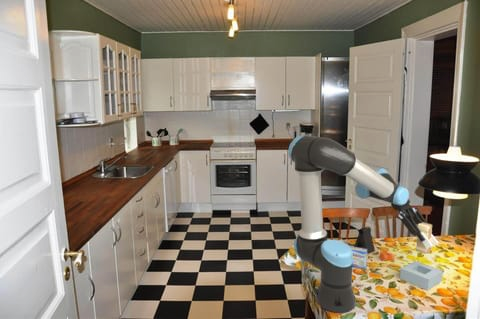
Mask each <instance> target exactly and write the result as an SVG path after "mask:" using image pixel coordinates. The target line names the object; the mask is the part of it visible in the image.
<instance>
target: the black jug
mask: <svg viewBox="0 0 480 319" xmlns="http://www.w3.org/2000/svg"><path fill="white" fill-rule="evenodd" d="M371 232H372V228H371V227H370V226H365V227H361V228H359V229H358V234H357V238H356V240H355V242H354V245H353V247H358V248H364V249H368V251H367V255H369V254H371V253H373V252H375V251H376V249H375V244H374V241H373V236H372V233H371Z"/></svg>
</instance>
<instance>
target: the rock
mask: <svg viewBox="0 0 480 319" xmlns="http://www.w3.org/2000/svg"><path fill="white" fill-rule="evenodd" d="M379 258H380V259H381V261H383V262H389V261H393V260H394V259H395V258H396V256H395V254H393V253H390V252H387V251H385V250H380V252H379Z"/></svg>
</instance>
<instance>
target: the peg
mask: <svg viewBox="0 0 480 319" xmlns="http://www.w3.org/2000/svg"><path fill="white" fill-rule="evenodd" d="M417 226H418V228H419V230H420V231H421V233H422V232H423V233H424V235H425V236H426V237H427V238H428V240H429V241H430V242H431V235H433V233H432V232H433V230H432V229H433V224H431V223H428V222H427V223H424V222H422V223H420V224H418V225H417ZM431 248H432V247H430V248H428V249H427V248H426V247H425V246H424V244H423V243H422V242H421V241H420V239H419V238H418V236H417V235H416V252H419V253H421V254H425V255H426V254H429V253H430V252H431Z"/></svg>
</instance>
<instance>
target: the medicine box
mask: <svg viewBox="0 0 480 319" xmlns="http://www.w3.org/2000/svg"><path fill="white" fill-rule="evenodd" d="M349 247H350V248H351V250H352V257H353V266H352V268H357V269H361V270H366V268H367V266H368V254H367V251H368V249H364V248H358V247H354V245H353V246H351V245H350V246H349Z"/></svg>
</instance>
